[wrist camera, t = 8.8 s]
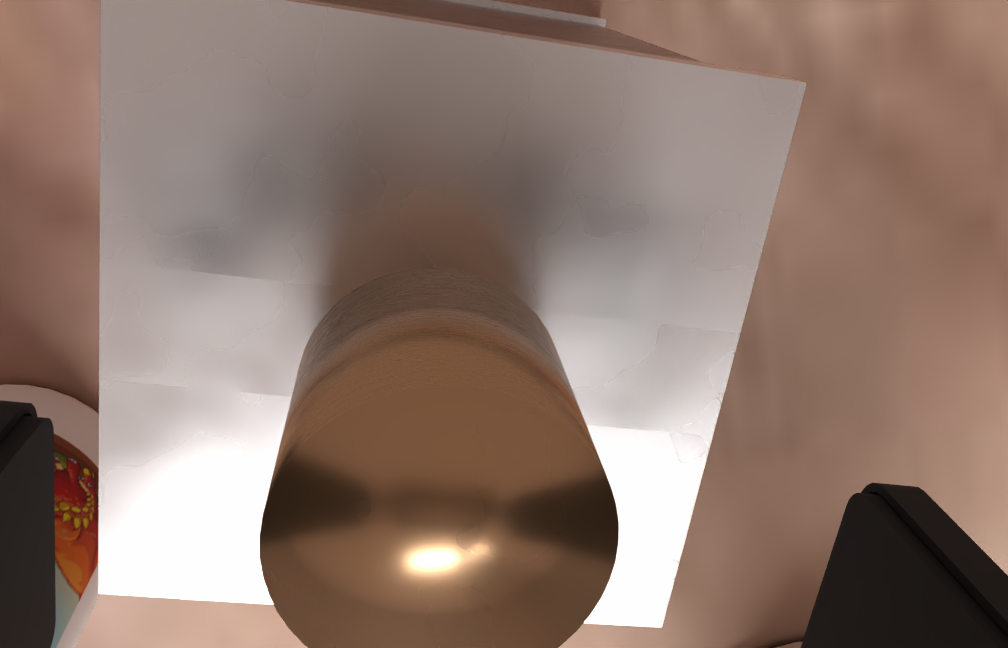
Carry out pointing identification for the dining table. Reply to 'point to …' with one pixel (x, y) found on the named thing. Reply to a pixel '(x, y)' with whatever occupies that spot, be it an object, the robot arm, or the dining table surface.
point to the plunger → (435, 476)
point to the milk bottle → (70, 504)
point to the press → (409, 245)
